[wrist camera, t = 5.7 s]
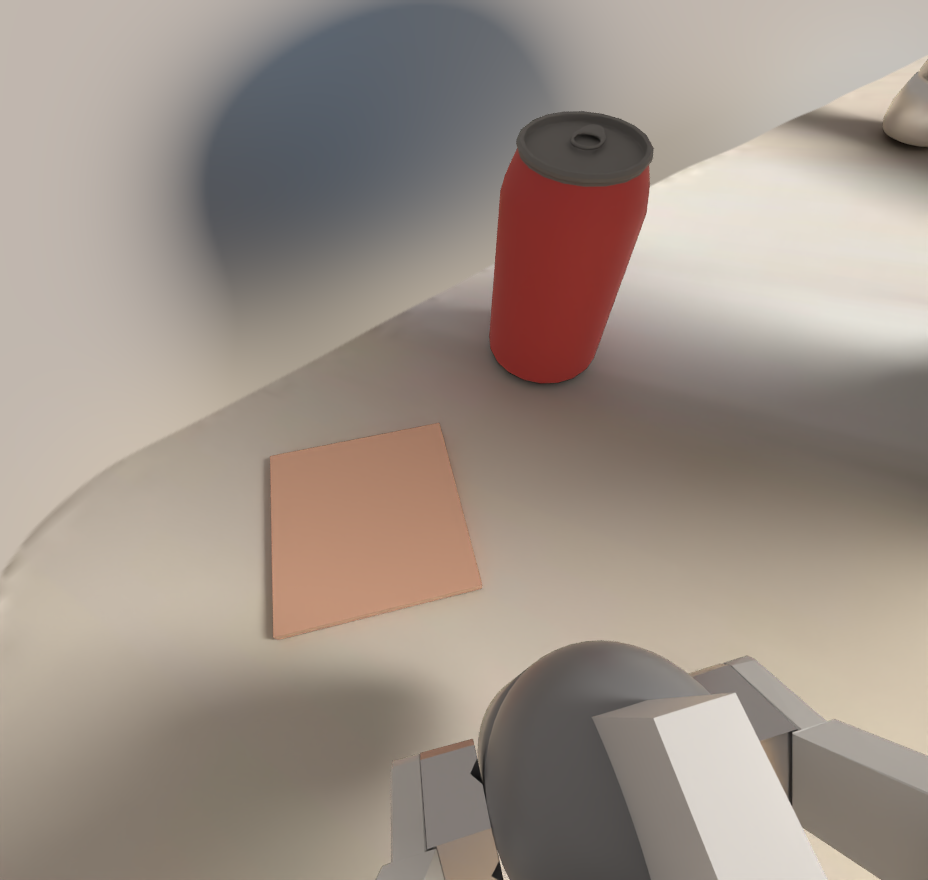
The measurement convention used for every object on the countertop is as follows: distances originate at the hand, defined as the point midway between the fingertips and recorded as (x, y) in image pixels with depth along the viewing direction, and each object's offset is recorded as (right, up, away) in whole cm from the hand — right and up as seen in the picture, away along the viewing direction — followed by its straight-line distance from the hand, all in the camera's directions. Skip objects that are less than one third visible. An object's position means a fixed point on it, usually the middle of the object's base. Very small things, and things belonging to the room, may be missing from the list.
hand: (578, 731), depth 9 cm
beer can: (+3, +11, +20) cm, 23 cm away
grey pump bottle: (0, -3, +4) cm, 5 cm away
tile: (-7, +2, +14) cm, 15 cm away
